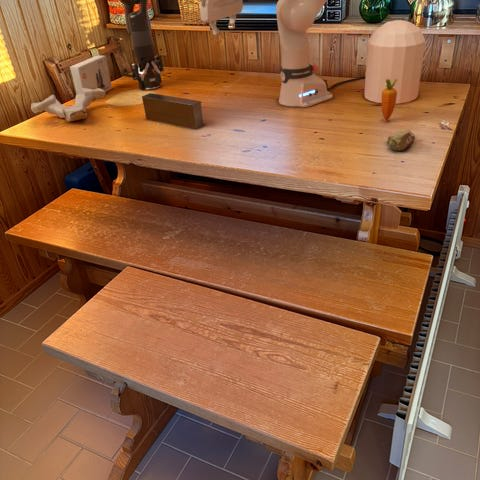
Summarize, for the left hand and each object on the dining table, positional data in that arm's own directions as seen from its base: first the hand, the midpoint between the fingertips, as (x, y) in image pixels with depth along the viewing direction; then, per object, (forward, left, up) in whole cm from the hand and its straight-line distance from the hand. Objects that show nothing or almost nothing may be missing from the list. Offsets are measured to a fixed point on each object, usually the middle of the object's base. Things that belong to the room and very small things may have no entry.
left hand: (151, 87), depth 181 cm
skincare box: (-52, +12, -13) cm, 55 cm away
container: (+75, +60, -13) cm, 96 cm away
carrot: (+83, +33, -13) cm, 90 cm away
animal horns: (-33, -15, -13) cm, 39 cm away
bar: (+9, 0, -13) cm, 16 cm away
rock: (+95, +14, -13) cm, 97 cm away
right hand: (+27, +15, +18) cm, 36 cm away
